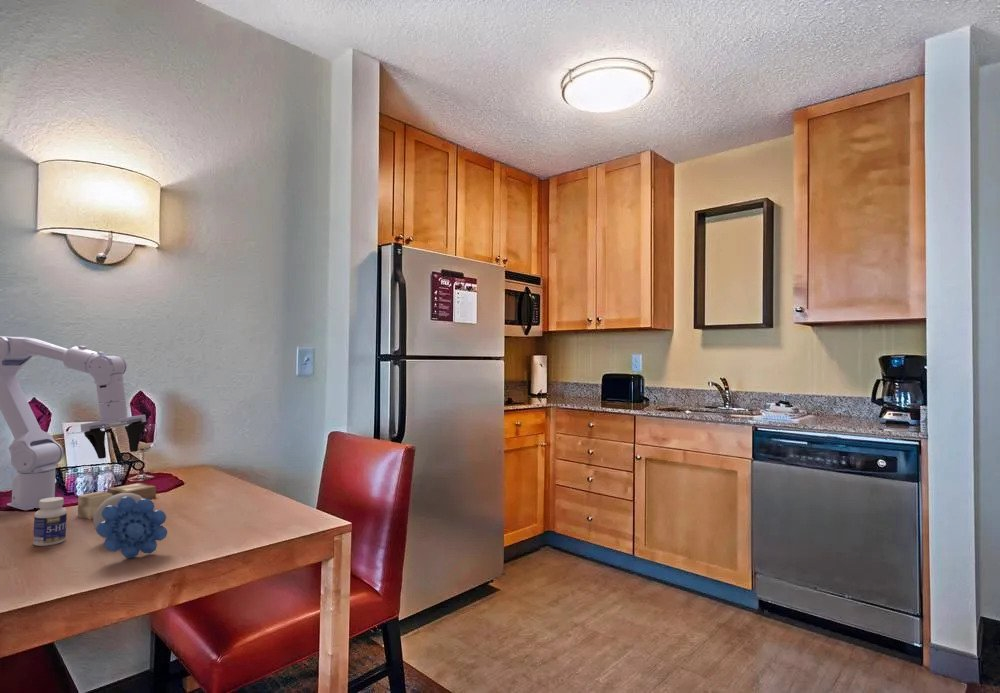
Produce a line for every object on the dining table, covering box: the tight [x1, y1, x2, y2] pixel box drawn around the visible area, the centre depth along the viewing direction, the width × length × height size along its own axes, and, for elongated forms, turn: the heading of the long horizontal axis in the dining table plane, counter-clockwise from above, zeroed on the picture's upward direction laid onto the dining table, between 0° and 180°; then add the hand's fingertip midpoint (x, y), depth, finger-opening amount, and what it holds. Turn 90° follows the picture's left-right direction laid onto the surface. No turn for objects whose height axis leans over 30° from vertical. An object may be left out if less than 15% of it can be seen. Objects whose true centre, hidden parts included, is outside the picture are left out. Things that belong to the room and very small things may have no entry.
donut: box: [92, 493, 143, 540], centre depth 117 cm, size 10×4×10 cm, turn 135°
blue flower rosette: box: [95, 497, 168, 559], centre depth 107 cm, size 12×7×12 cm, turn 129°
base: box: [107, 482, 157, 500], centre depth 150 cm, size 8×8×3 cm
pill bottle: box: [32, 496, 68, 547], centre depth 115 cm, size 5×5×9 cm
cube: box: [77, 491, 113, 520], centre depth 135 cm, size 5×5×5 cm
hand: (118, 454), depth 142 cm, fingers open, 7 cm apart
